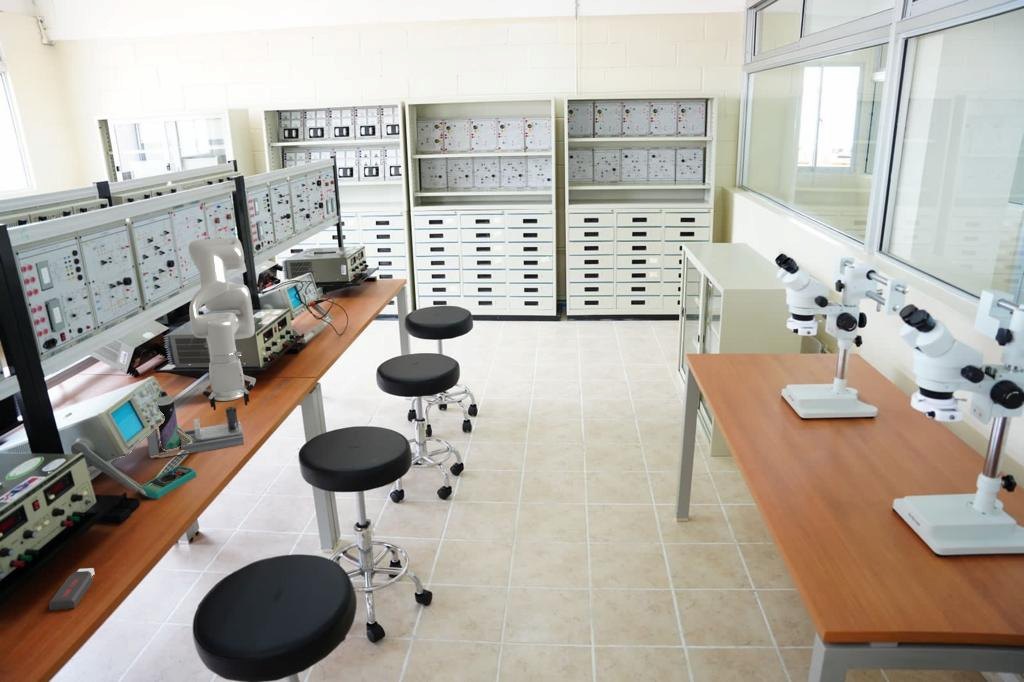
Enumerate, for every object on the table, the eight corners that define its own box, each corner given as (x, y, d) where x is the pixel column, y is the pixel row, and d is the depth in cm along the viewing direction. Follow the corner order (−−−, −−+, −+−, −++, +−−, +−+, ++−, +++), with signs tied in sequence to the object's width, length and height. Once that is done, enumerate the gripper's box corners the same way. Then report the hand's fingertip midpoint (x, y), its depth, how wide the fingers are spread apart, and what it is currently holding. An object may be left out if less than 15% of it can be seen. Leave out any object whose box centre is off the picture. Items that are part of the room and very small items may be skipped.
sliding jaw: (196, 434, 227) (192, 409, 224) (241, 426, 233) (238, 402, 230) (196, 445, 220) (192, 419, 217) (243, 437, 225) (239, 412, 222)
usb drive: (50, 611, 151) (47, 601, 150) (76, 576, 162) (73, 566, 161) (75, 610, 152) (72, 600, 151) (99, 574, 163) (97, 565, 162)
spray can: (160, 453, 218) (150, 395, 211) (164, 445, 223) (154, 388, 216) (179, 451, 219) (170, 394, 213) (182, 443, 224) (173, 387, 218)
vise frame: (151, 443, 224) (147, 421, 221) (241, 428, 235) (238, 407, 232) (150, 460, 213) (146, 437, 211) (244, 444, 224) (241, 422, 222)
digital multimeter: (198, 476, 206) (197, 468, 205) (156, 501, 193) (155, 492, 192) (180, 471, 208) (179, 463, 207) (138, 495, 196) (136, 486, 195)
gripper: (251, 350, 226) (257, 398, 231) (194, 357, 219) (201, 406, 224) (253, 357, 219) (259, 406, 224) (194, 364, 212) (202, 415, 217)
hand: (230, 406), depth 224 cm, fingers open, 9 cm apart
